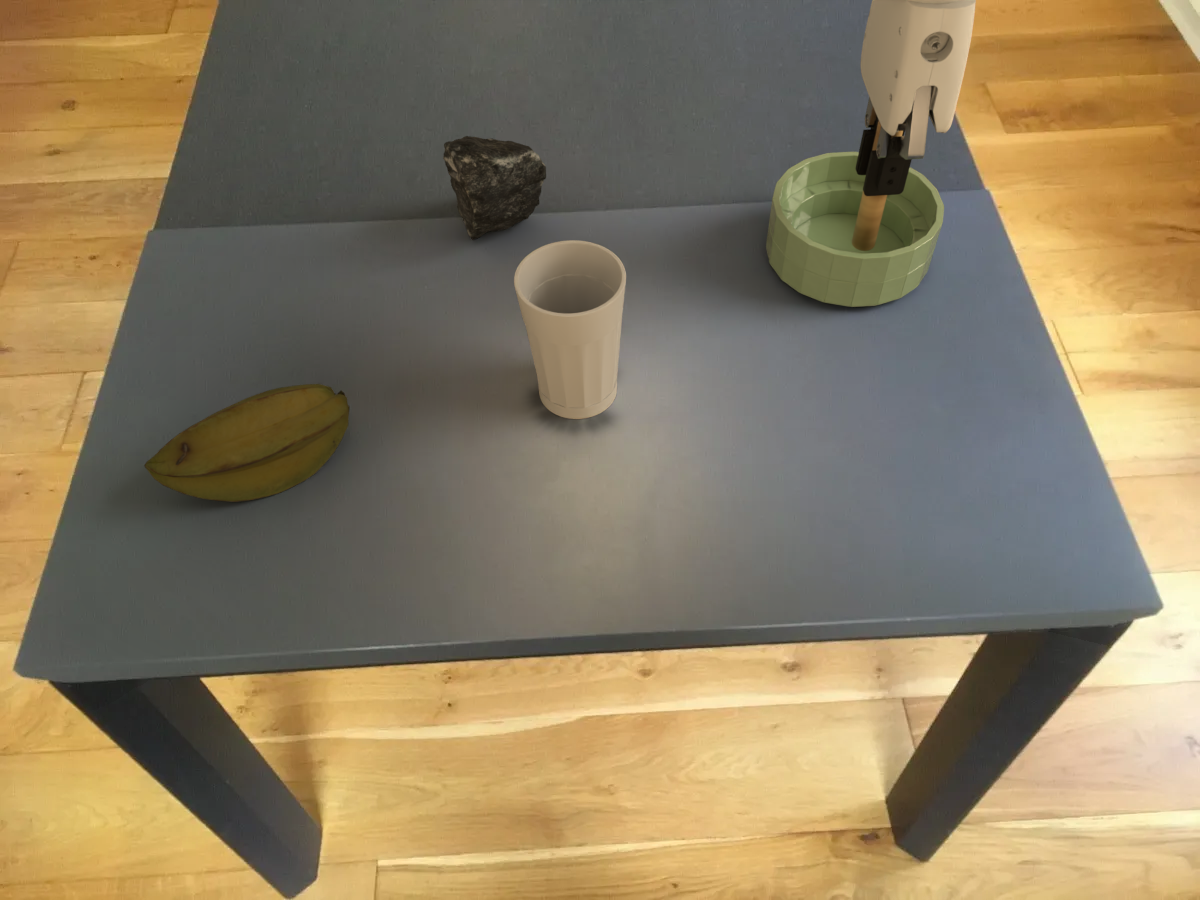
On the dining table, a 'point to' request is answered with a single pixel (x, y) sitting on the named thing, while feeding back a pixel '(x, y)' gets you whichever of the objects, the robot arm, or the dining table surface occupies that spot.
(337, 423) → the fruit
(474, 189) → the rock
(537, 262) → the cup
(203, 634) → the dining table surface
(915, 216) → the bowl
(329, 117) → the dining table surface
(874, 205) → the stick
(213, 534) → the dining table surface
